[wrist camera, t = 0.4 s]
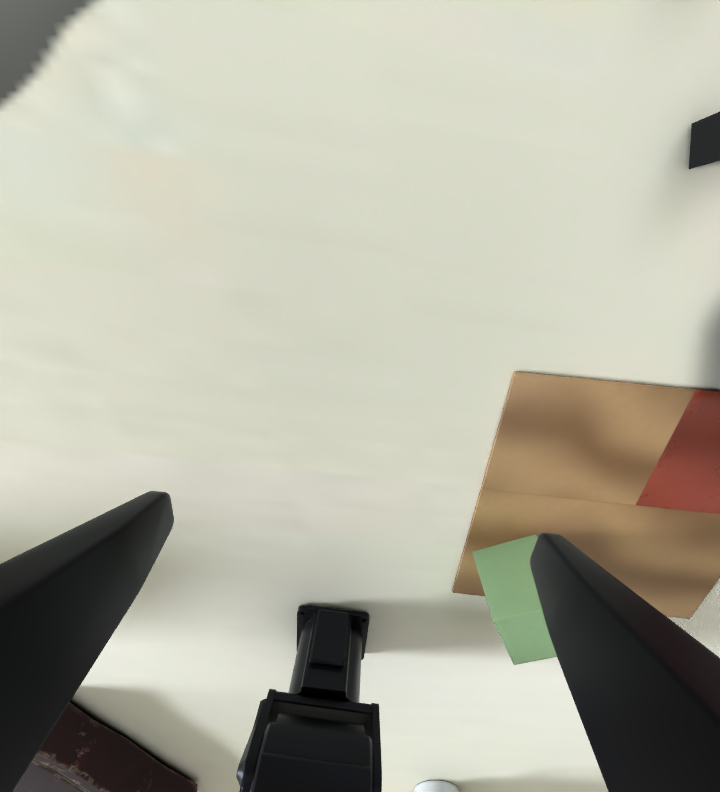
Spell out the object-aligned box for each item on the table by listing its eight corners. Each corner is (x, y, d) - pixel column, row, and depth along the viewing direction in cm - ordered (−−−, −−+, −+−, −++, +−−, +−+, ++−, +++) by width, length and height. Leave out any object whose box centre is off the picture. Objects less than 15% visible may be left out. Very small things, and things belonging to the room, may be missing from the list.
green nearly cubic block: (551, 577, 27) (589, 650, 22) (490, 592, 28) (514, 665, 23) (535, 533, 26) (573, 602, 21) (471, 551, 27) (493, 621, 22)
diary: (58, 684, 39) (14, 743, 34) (203, 780, 46) (183, 839, 42) (-33, 719, 43) (-82, 775, 39) (113, 801, 51) (86, 856, 46)
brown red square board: (687, 616, 29) (689, 619, 28) (452, 590, 29) (452, 592, 29) (841, 403, 21) (845, 404, 20) (514, 371, 21) (515, 372, 21)
